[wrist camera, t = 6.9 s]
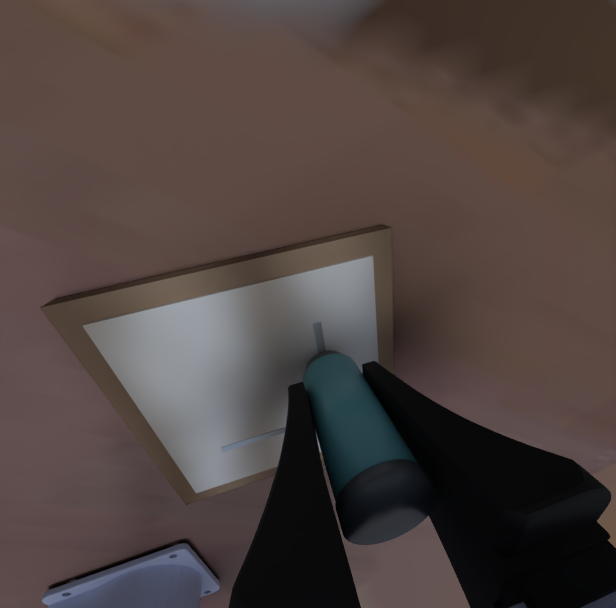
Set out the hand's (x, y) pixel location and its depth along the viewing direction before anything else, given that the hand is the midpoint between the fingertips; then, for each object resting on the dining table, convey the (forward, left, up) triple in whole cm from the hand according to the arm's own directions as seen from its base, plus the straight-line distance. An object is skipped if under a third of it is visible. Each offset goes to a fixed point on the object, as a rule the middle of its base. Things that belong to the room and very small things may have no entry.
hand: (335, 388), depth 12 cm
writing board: (-3, -1, -3) cm, 4 cm away
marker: (0, 0, -1) cm, 1 cm away
